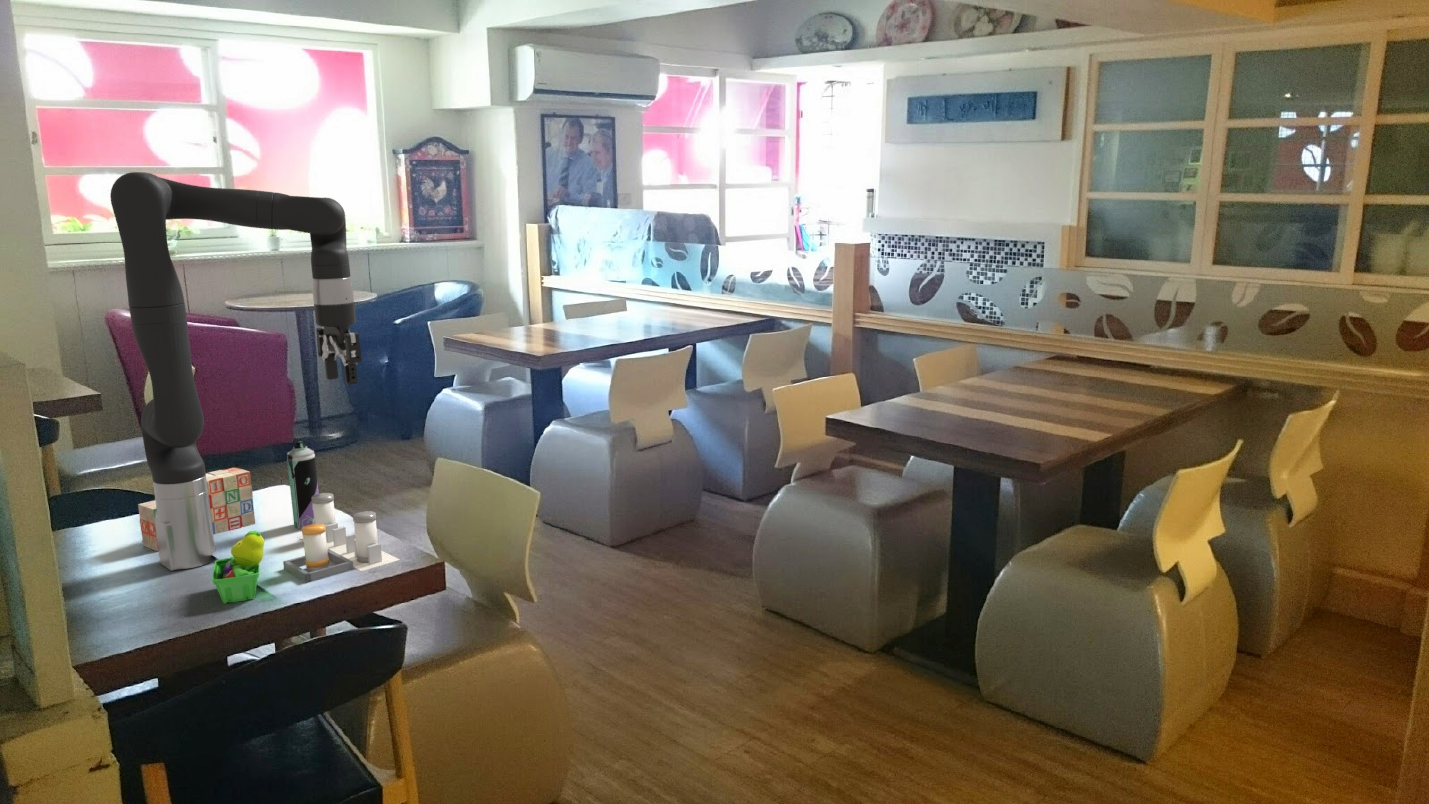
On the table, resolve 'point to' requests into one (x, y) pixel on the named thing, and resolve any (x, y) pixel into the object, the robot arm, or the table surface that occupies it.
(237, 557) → the fruit basket
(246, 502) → the stack of blocks
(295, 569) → the tray
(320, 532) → the fuse marked
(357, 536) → the fuse right
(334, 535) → the fuse strip
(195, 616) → the table surface
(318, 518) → the fuse left
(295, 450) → the spray can
